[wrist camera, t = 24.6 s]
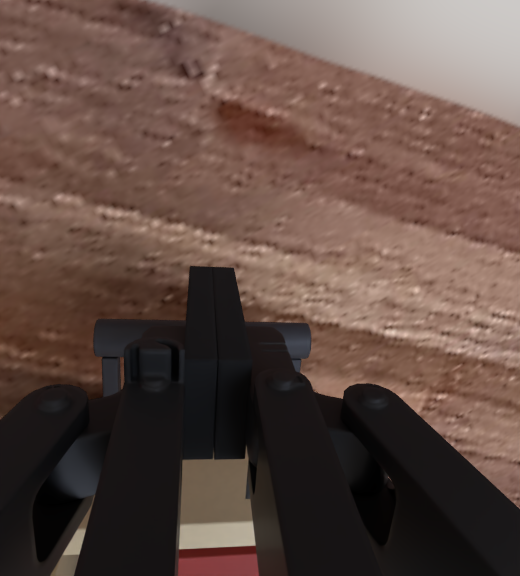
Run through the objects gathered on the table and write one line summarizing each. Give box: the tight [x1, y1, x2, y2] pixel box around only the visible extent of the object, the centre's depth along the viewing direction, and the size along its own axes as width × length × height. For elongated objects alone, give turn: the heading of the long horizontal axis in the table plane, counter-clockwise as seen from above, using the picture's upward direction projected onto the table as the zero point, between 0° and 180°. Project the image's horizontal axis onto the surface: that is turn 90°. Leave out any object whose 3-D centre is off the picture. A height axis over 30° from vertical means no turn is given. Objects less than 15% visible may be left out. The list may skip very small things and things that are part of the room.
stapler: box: [178, 546, 259, 576], centre depth 23 cm, size 8×3×5 cm, turn 86°
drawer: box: [50, 319, 311, 576], centre depth 22 cm, size 21×14×8 cm, turn 175°
